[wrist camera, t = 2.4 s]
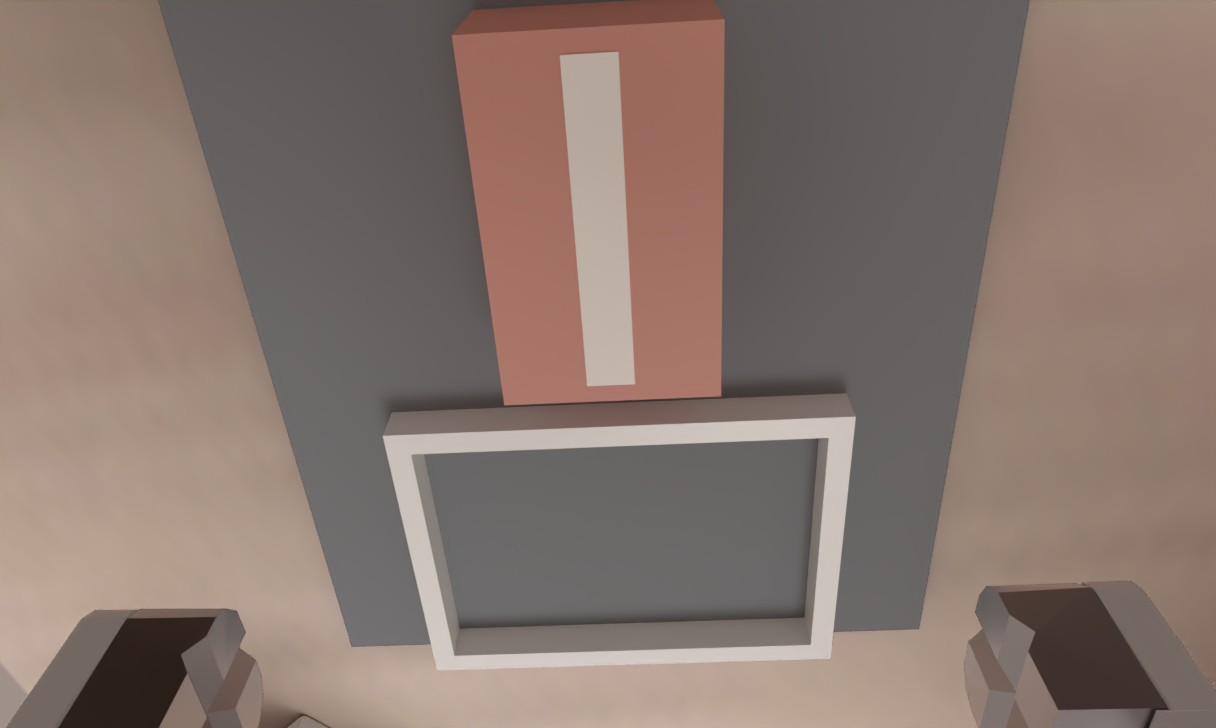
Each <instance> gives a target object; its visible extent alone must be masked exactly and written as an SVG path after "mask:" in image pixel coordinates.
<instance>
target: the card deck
mask: <svg viewBox="0 0 1216 728" xmlns="http://www.w3.org/2000/svg"><path fill="white" fill-rule="evenodd" d="M724 39H725V19H724V17H723V15H722V14H721V12H720V10H719V8H718V6H717V5H716V3H715V1H714V0H629V1H612V2H596V3H579V4H562V5H546V6H529V7H512V8H496V9H479V10H472V12H471V13H470V14H469V15H468V16H467V18H466V19H465V20H464V21H463V22H462V24H461V25H460V26H459V27H458V28H457V30H456V31H455V32H454V33H453V34H452V40H453V47H454V54H455V62H456V69H457V76H458V83H459V90H460V97H461V104H462V111H463V118H464V125H465V132H466V139H467V146H468V153H469V160H470V167H471V174H472V181H473V188H474V195H475V202H476V209H477V216H478V223H479V230H480V237H481V245H482V252H483V259H484V266H485V273H486V280H487V287H488V294H489V301H490V308H491V315H492V322H493V329H494V336H495V343H496V350H497V357H498V364H499V371H500V378H501V385H502V392H503V399H504V405H527V404H551V403H574V402H598V401H622V400H646V399H670V398H694V397H718V396H721V352H722V248H723V144H724Z"/></svg>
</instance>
